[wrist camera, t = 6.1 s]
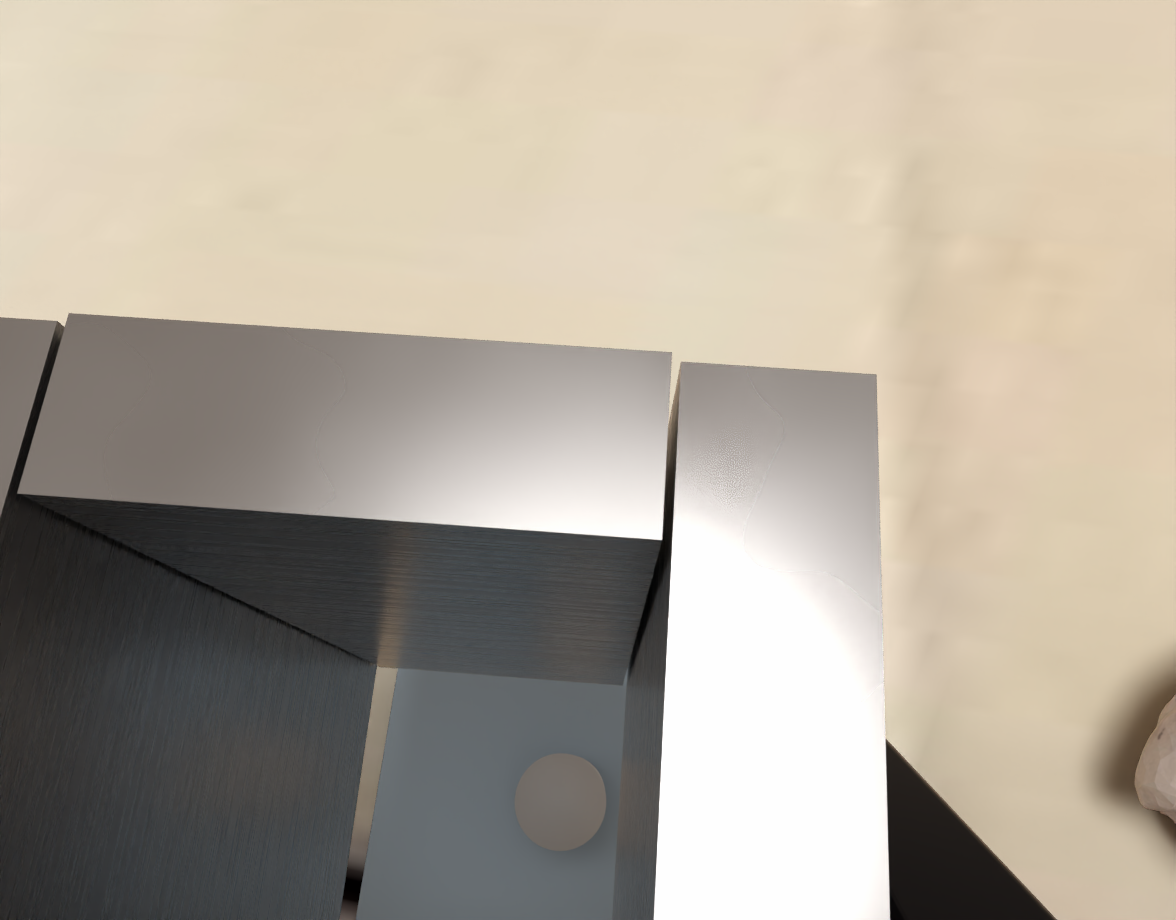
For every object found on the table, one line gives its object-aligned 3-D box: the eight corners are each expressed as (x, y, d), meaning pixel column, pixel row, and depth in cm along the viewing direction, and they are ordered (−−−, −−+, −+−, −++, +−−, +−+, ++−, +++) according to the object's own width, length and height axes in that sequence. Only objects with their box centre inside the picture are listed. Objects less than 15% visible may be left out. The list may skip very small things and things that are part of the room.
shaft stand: (737, 1077, 19) (778, 1171, 14) (348, 1027, 19) (275, 1104, 15) (761, 588, 22) (800, 545, 17) (426, 553, 22) (385, 503, 18)
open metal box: (689, 1074, 13) (911, 1826, 4) (237, 1032, 14) (-612, 1643, 4) (705, 615, 15) (875, 365, 6) (314, 586, 16) (-123, 301, 6)
